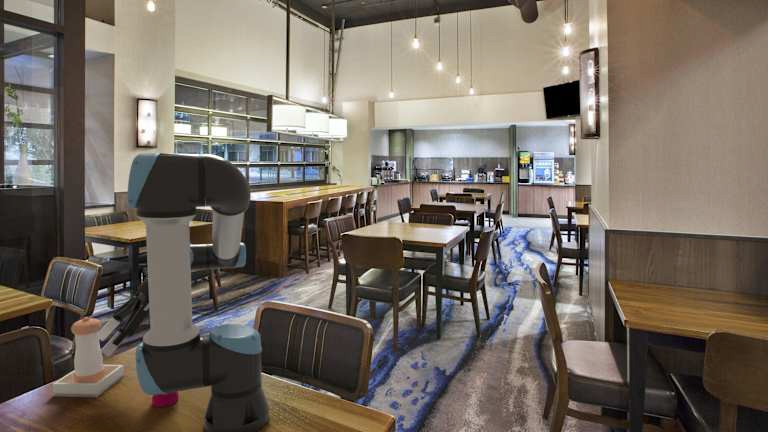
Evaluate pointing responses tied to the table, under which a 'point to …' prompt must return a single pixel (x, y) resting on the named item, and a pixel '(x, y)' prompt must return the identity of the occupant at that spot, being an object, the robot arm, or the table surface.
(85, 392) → the tray
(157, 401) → the pepper mill
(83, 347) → the pepper shaker
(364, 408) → the table surface
